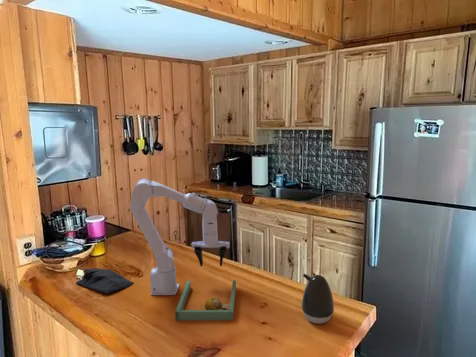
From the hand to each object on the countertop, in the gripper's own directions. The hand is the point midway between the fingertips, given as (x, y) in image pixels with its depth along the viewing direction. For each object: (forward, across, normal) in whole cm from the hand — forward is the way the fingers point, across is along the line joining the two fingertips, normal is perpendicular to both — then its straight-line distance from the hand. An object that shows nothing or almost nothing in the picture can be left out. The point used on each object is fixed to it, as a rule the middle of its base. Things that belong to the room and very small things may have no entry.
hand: (211, 265), depth 138 cm
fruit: (+9, -4, +18) cm, 20 cm away
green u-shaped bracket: (+8, 0, +13) cm, 16 cm away
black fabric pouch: (+9, +44, -2) cm, 45 cm away
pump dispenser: (+9, -37, +23) cm, 45 cm away
